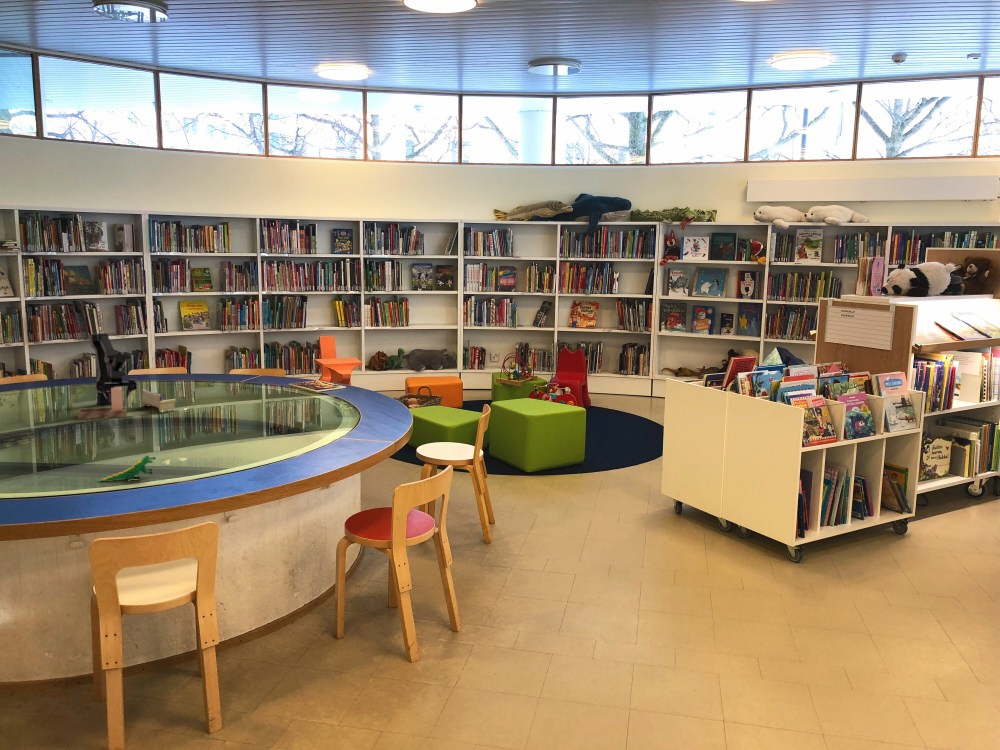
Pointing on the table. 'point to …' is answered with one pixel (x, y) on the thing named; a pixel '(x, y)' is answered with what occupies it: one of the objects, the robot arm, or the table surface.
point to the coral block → (116, 398)
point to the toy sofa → (156, 400)
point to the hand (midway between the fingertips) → (116, 398)
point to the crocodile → (132, 470)
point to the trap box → (101, 413)
